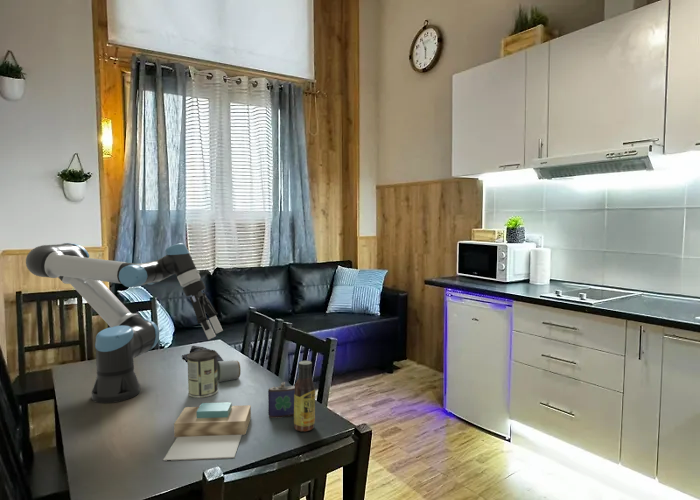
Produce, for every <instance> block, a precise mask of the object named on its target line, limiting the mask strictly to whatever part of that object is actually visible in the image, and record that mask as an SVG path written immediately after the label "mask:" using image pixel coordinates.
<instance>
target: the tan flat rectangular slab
mask: <svg viewBox="0 0 700 500" xmlns="http://www.w3.org/2000/svg"><path fill="white" fill-rule="evenodd" d="M199 407H200V406H187V407H186V406H185V407H184V408H183V410H182V411H181V412H180V414H179V416H178V417H177V419H176V420H175V421H174V423H173V429H174V431H173V432H174V434H173V435H174V438H177V437H188V436H216V435H242V436H243V435H246V434H247V431H248V428H249V425H250V421H251V418H252V412H251V411H252V406H251V404H250V405H249V404H248V405H232V409H231V411H230V414H229V416H228V417H220V418H197V410H198V408H199Z"/></svg>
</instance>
